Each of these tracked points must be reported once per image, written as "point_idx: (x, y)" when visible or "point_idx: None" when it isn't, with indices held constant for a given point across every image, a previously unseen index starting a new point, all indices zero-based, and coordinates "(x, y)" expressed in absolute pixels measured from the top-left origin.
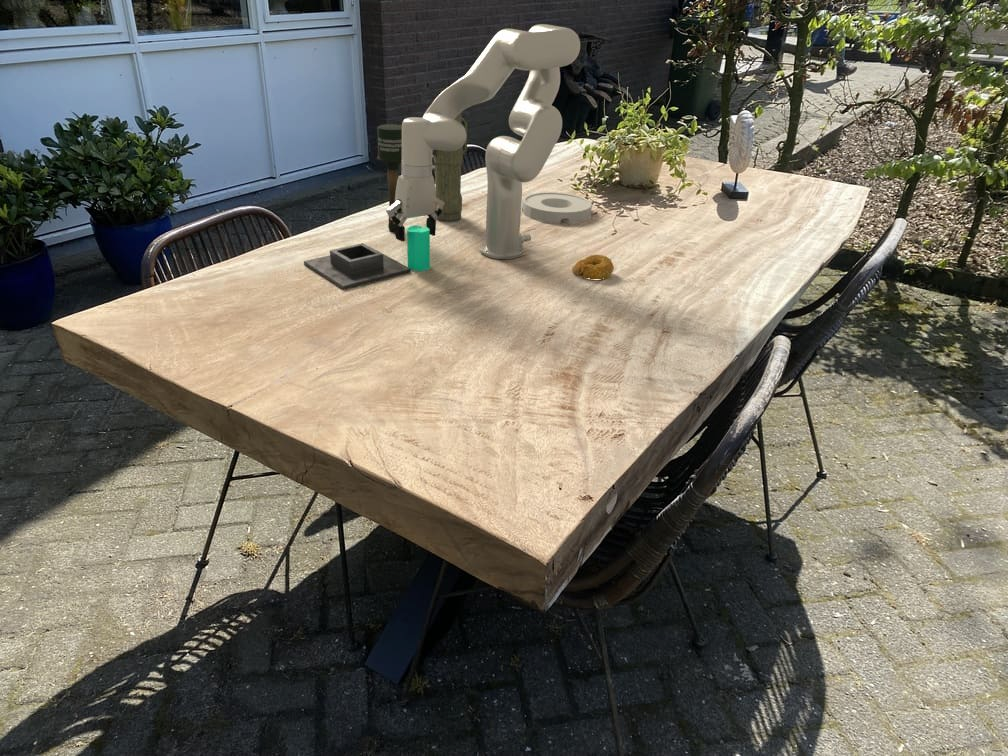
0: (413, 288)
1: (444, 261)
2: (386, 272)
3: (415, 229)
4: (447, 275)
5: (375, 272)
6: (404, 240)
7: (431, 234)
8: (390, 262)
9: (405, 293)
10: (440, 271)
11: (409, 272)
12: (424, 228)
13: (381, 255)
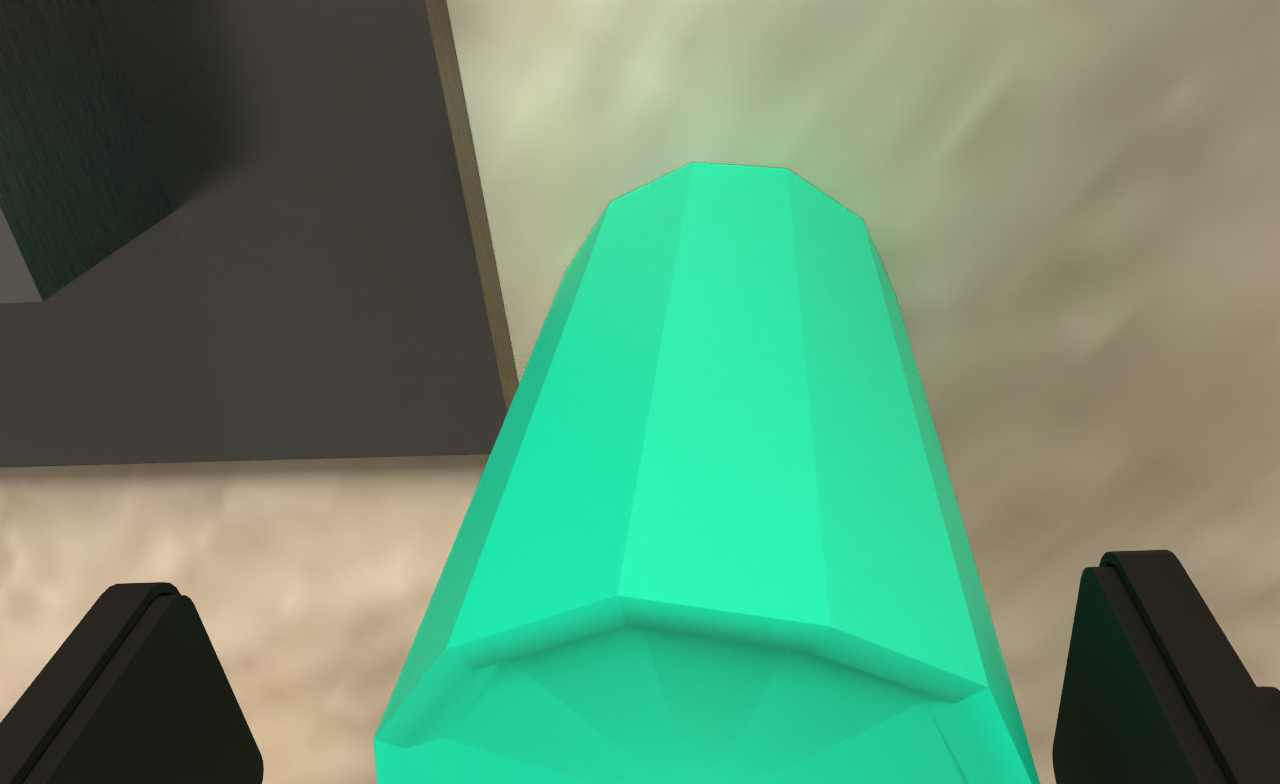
0: (372, 733)
1: (1198, 336)
2: (166, 400)
3: (675, 723)
4: None
5: (21, 333)
6: (259, 780)
7: (1063, 735)
8: (326, 104)
9: None
10: None
11: None
12: (962, 780)
13: (21, 296)
